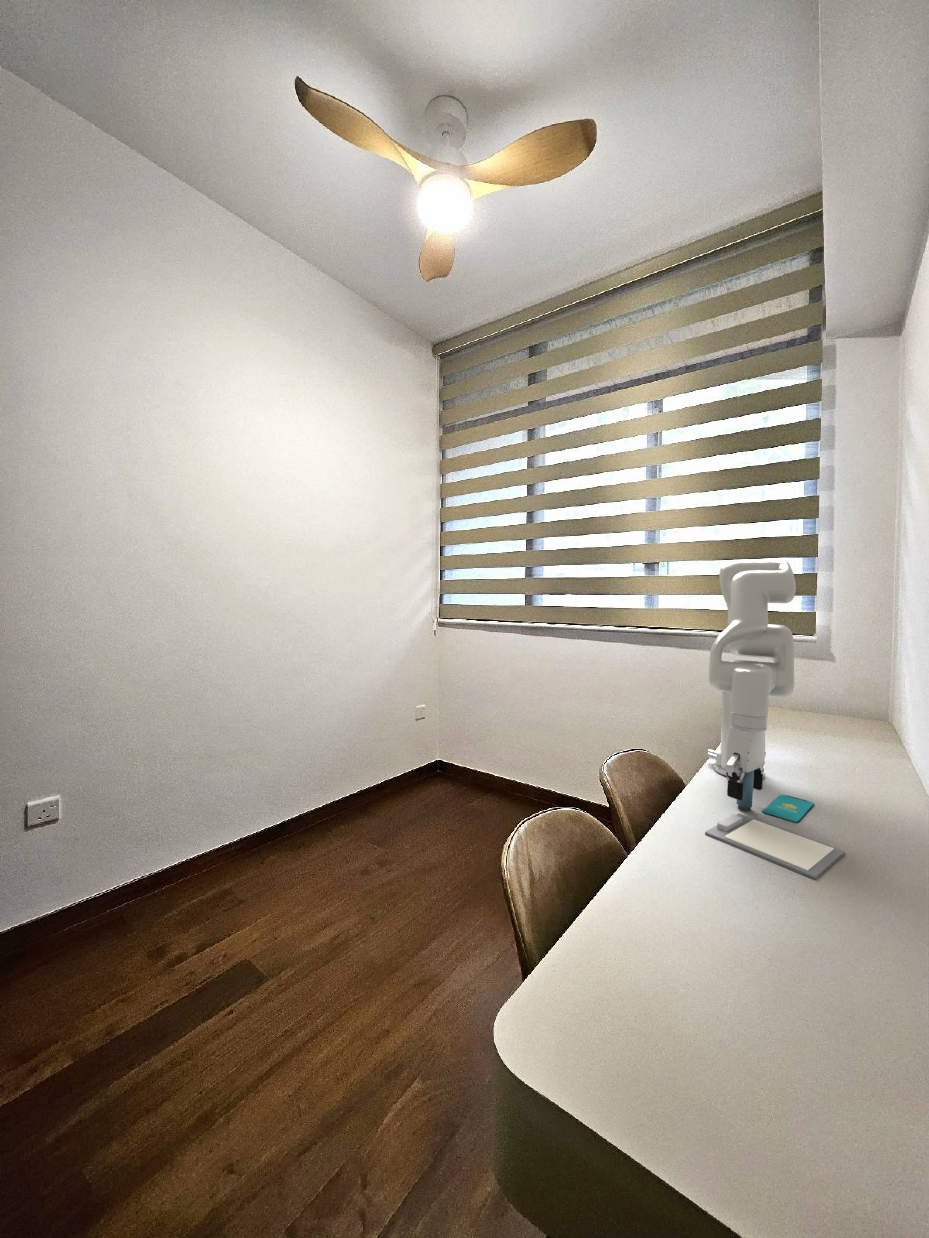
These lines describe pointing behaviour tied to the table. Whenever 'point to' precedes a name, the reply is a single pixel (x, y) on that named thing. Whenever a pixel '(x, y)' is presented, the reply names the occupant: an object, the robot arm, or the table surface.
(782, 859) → the clipboard
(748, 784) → the bottle
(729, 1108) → the table surface
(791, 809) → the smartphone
